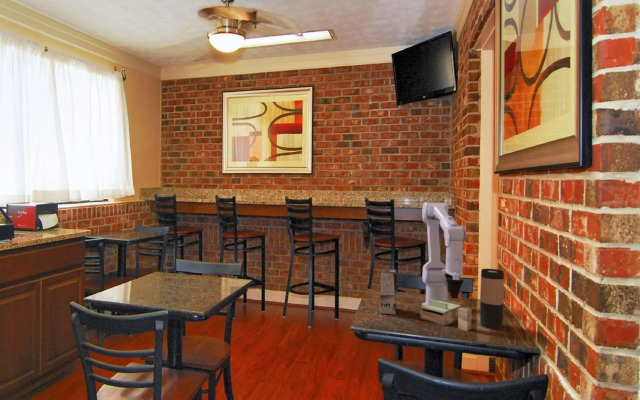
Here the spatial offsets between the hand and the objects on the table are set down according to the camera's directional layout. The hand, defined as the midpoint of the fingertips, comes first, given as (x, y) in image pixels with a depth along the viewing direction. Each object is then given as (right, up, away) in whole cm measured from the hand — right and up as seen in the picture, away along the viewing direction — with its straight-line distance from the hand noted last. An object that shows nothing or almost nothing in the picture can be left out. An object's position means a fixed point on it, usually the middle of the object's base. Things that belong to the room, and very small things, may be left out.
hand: (453, 295), depth 139 cm
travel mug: (+12, -10, -4) cm, 16 cm away
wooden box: (-3, -10, +4) cm, 11 cm away
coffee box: (-22, -9, +12) cm, 27 cm away
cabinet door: (-3, -5, +3) cm, 7 cm away
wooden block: (+1, -10, -7) cm, 12 cm away
